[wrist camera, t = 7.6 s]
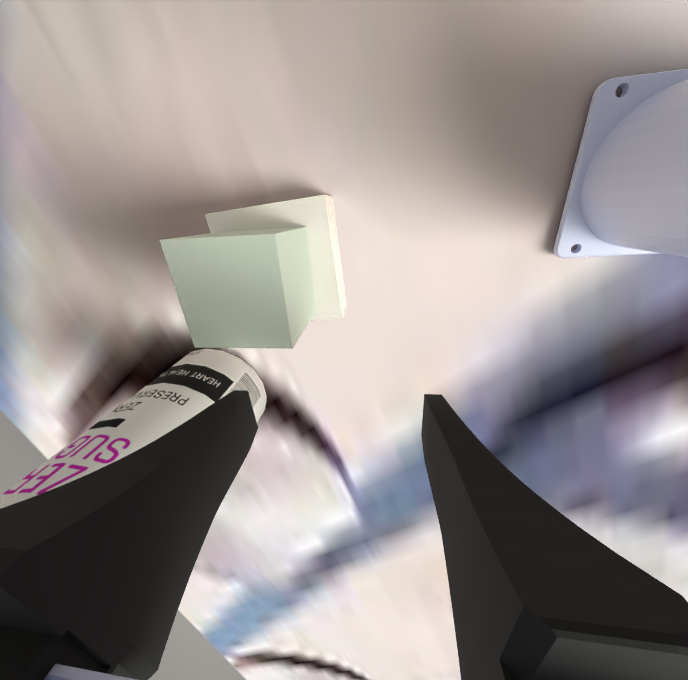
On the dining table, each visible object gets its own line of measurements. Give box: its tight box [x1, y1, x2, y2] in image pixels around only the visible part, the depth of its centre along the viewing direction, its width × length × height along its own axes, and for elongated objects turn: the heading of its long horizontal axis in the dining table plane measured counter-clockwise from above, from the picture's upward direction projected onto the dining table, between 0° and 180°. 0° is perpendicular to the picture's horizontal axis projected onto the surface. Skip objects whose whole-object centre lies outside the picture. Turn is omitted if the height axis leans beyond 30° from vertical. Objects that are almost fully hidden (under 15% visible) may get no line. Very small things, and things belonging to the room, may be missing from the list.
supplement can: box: [0, 349, 267, 509], centre depth 17 cm, size 8×8×15 cm
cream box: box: [205, 195, 347, 321], centre depth 18 cm, size 7×7×3 cm
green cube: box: [160, 227, 316, 348], centre depth 14 cm, size 5×5×5 cm
